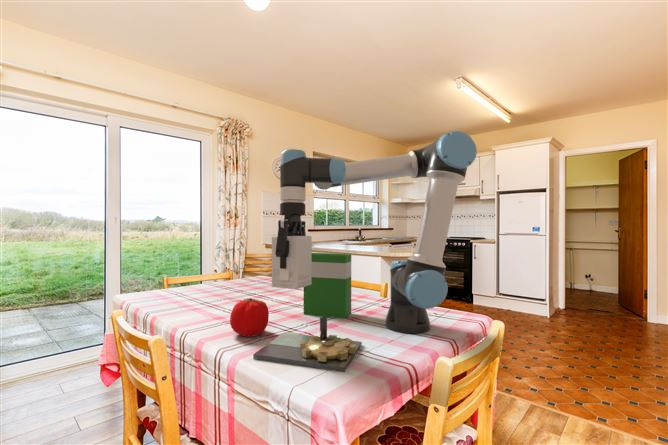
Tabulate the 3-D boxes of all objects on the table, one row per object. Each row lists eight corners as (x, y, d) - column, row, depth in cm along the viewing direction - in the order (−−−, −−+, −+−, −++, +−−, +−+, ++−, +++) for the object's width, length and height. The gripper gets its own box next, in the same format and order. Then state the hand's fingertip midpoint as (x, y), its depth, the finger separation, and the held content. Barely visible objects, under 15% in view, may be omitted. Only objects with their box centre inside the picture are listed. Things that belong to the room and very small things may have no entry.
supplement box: (312, 284, 98) (312, 235, 99) (297, 289, 90) (297, 236, 91) (287, 282, 102) (287, 235, 103) (270, 287, 94) (270, 235, 94)
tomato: (232, 343, 96) (232, 304, 96) (227, 330, 108) (228, 295, 109) (272, 337, 101) (273, 300, 101) (264, 326, 113) (264, 293, 114)
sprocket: (364, 357, 82) (364, 327, 83) (308, 365, 77) (308, 333, 78) (343, 338, 96) (343, 312, 97) (294, 344, 91) (294, 317, 92)
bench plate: (361, 345, 94) (361, 341, 94) (344, 372, 77) (344, 366, 77) (284, 336, 102) (284, 332, 102) (253, 358, 85) (253, 353, 85)
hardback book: (303, 314, 129) (303, 254, 129) (310, 309, 136) (311, 252, 136) (345, 318, 123) (345, 255, 123) (351, 313, 130) (351, 253, 130)
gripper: (297, 205, 108) (296, 272, 108) (262, 199, 88) (261, 282, 87) (317, 204, 106) (317, 273, 106) (287, 198, 85) (286, 284, 85)
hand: (292, 277), depth 96 cm, fingers closed on supplement box, 9 cm apart
